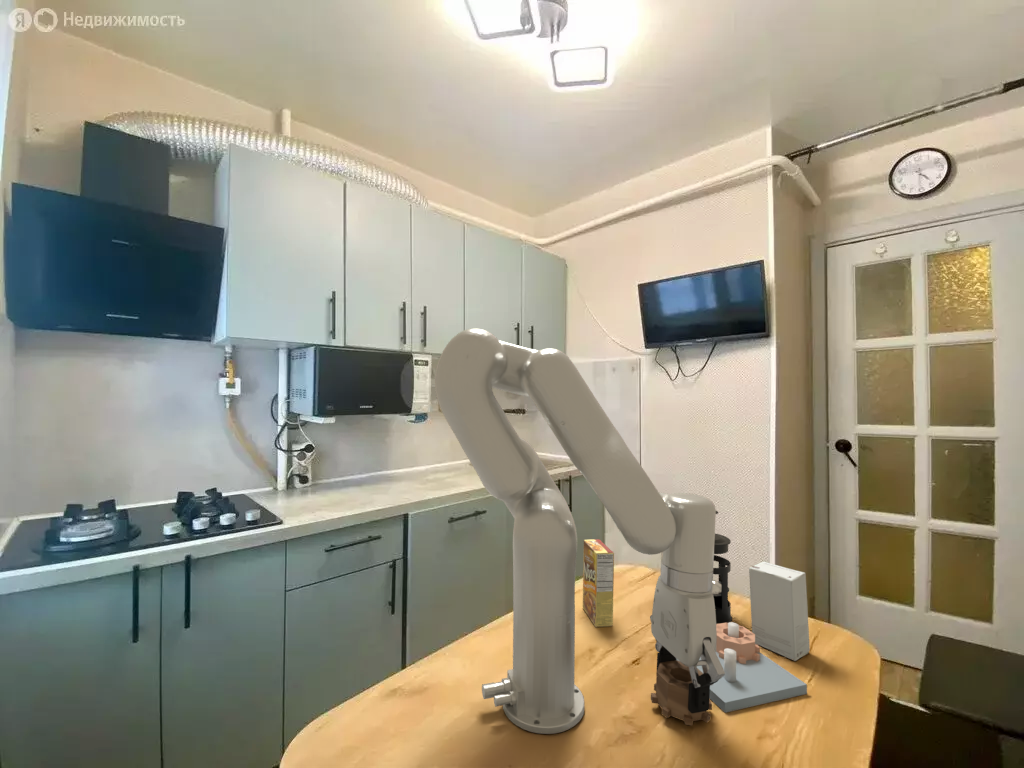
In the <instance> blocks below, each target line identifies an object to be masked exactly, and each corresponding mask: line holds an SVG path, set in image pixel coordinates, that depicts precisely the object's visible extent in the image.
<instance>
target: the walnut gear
mask: <svg viewBox="0 0 1024 768" xmlns="http://www.w3.org/2000/svg"><path fill="white" fill-rule="evenodd" d="M697 670H698V674H699V676H700V675H702V674H703V673H702V672H701V671H700V670H699V669H698V668H697ZM656 672H657V676H655V677H656V679H655V681H656V682H655V683H654V684H653V691H655V693H654V692H651V693H650V702H651V704H657V705H658V707H660V709H661V715H662V716H664V717H665V718H667V719H668V718H670V717H673V718H675V719H679V720H681V721H683V722H684V725H686V726H693V723H694V722H695V721H699V720H700V721H701V720H702V721H704V722H705V723H708V722H710V721H711V713H710V712H708V711H712V710H713V703H712V700H711V699H709V709H708V710H707V711H703V712H697V713H691V712H690V711H689V710H688V695H689V683H692V679H691V674H690V670H689V667H687V666H685V665H684V664H682V663H681V662H680V661H677V660H675V661H668V662H661V663H660V665H659V667H658V670H657V669H656Z"/></svg>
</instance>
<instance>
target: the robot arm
mask: <svg viewBox="0 0 1024 768" xmlns="http://www.w3.org/2000/svg"><path fill="white" fill-rule="evenodd" d="M434 388H435V396H436V399H437V400H436V401H437V402H438V406H439V408H440V411H441V413H442V414H443V415H442V416H443V417H444V419H445V420H446V422H447V424H448V425H449V428H450V429H451V431H452V433H453V434H454V436H455V438H456V439H457V441H458V443H459V444H460V447H461V449H462V451H463V452H464V454H465V456H466V457H467V459H468V460H469V462H470V464H471V466H472V467H473V469H474V471H475V472H476V474H477V476H478V478H479V479H480V482H481V484H482V486H483V487H484V488H485V490H486V491H487V492H488V493H489V495H491V496H492V497H493V498H496V499H497V500H499V501H502V502H503V503H504V505H505V506H506V508H507V510H508V511H509V512H510V514H511V516H512V517H513V519H514V522H513V532H512V563H513V565H512V569H513V570H512V571H513V578H512V579H513V580H512V581H513V583H512V587H513V588H512V591H513V592H512V600H513V601H512V605H513V608H512V609H513V610H512V612H513V615H512V617H513V619H512V621H513V622H512V623H513V624H512V634H513V635H512V668H511V669H507V672H506V673H507V676H506V677H505V678H501V681H497V682H487V683H484V684H482V685H481V693H482V699H483V700H488V699H492V698H493V703H494V704H493V705H494V707H495V708H496V707H501V706H502V709H503V711H504V714H505V715H506V717H507V718H508V720H509V721H510V722H511V723H513V724H514V725H515V726H517V727H519V728H520V729H522V730H525V731H528V732H531V733H534V734H541V735H542V734H543V735H545V734H546V735H553V734H558V733H563V732H566V731H568V730H570V729H572V728H573V727H575V726H576V725H577V724H578V723H579V722H580V721H581V719H582V718H583V716H584V713H585V703H586V702H585V697H584V695H583V693H582V691H581V690H580V688H579V687H578V686H577V685H576V684H575V670H576V669H575V667H576V665H575V658H576V655H575V651H576V650H575V647H576V644H575V643H576V642H575V641H576V638H575V637H576V634H575V633H576V632H575V631H576V628H575V627H576V626H575V625H576V622H575V621H576V612H575V611H576V604H575V602H576V601H575V600H576V599H575V597H576V590H575V589H576V567H577V556H578V555H577V552H578V534H577V526H576V524H575V523H576V522H575V520H574V517H573V514H572V512H571V510H570V508H569V505H568V502H567V500H566V499H565V497H564V495H563V493H562V492H561V491H560V488H559V487H558V486H557V484H556V482H555V481H554V479H553V478H552V476H551V475H550V473H549V471H548V469H547V468H546V465H544V462H543V461H542V460H541V457H540V456H539V455H538V453H537V451H536V450H535V448H533V447H534V446H532V445H531V444H530V443H529V442H528V441H527V440H526V439H524V438H522V437H521V436H519V434H518V433H517V430H516V429H515V428H514V426H513V425H512V423H511V422H510V420H509V419H508V417H507V414H506V412H505V411H504V409H503V408H502V407H501V405H500V403H499V402H498V400H497V398H496V395H495V394H494V391H493V389H497V390H499V391H503V392H507V393H511V394H515V395H519V396H522V397H527V398H530V399H531V400H532V402H533V403H534V405H535V406H536V409H538V411H539V413H540V415H541V416H542V417H543V419H544V420H545V422H546V423H547V425H548V427H549V429H550V430H551V431H552V433H553V434H554V436H555V438H556V440H557V441H558V442H559V444H560V446H561V447H562V449H563V450H564V452H565V453H566V456H567V457H568V458H569V459H570V461H571V463H572V464H573V466H574V467H575V468H576V469H577V470H578V471H579V472H580V474H581V475H582V476H583V477H584V479H585V480H586V482H587V483H588V484H589V485H590V487H591V488H592V490H593V491H594V492H595V494H596V496H597V497H598V499H599V500H600V502H601V503H602V505H603V507H604V508H605V510H606V512H607V513H608V514H609V516H610V517H611V519H612V521H613V523H614V525H615V527H616V528H617V529H618V531H619V532H620V534H621V535H622V537H623V538H624V540H625V542H627V545H629V547H631V548H632V549H633V550H635V551H637V552H638V553H641V554H644V555H651V556H652V555H658V554H661V555H660V556H661V557H660V559H661V561H660V575H658V578H657V582H656V584H655V589H654V596H653V602H652V613H651V615H650V616H649V620H650V623H651V626H650V627H651V631H650V632H651V635H652V636H653V638H654V639H655V641H656V642H655V645H654V646H655V647H654V648H655V650H656V652H657V653H656V676H657V670H658V667H659V665H660V663H661V662H668V661H675V660H676V658H677V659H678V660H679V661H680V662H681V663H682V664H684V665H685V666H687V667H689V670H690V674H691V679H692V683H689V695H688V710H689V711H690V712H691V713H697V712H703V711H707V712H708V711H709V710H708V709H709V700H710V698H709V697H710V686H711V685H713V684H714V683H716V682H718V680H719V679H721V678H722V677H723V676H724V675H725V672H724V669H723V667H722V665H721V663H720V661H719V659H718V657H717V655H716V641H717V632H716V613H715V603H714V597H713V594H712V590H713V580H714V574H713V568H714V562H715V561H714V555H715V554H714V541H715V534H716V517H717V514H716V511H717V508H716V506H715V504H714V502H713V501H712V500H711V499H710V498H708V497H706V496H703V495H698V494H695V493H684V492H676V493H664V492H661V491H658V489H657V488H656V486H655V484H654V483H653V481H652V480H651V478H650V477H649V475H648V474H647V472H646V471H645V469H644V468H643V467H642V465H641V464H640V462H639V461H638V460H637V458H636V457H635V456H634V454H633V452H632V451H631V450H630V448H629V447H628V445H627V443H626V442H625V440H624V438H623V437H622V436H621V434H620V433H619V431H618V430H617V429H616V426H614V423H613V422H612V420H611V419H610V418H609V416H608V415H607V413H606V412H605V410H604V408H603V407H602V405H600V402H599V401H598V399H597V398H596V396H595V395H594V393H593V392H592V389H591V388H589V385H588V384H587V382H586V381H585V379H584V377H583V376H582V375H581V373H580V372H579V370H578V368H577V367H576V365H575V364H574V362H573V361H572V359H570V357H569V356H568V355H567V354H566V353H565V352H564V351H561V350H560V349H557V348H553V347H551V348H550V347H545V348H543V349H539V350H538V349H535V348H528V347H524V346H520V345H518V344H517V345H516V344H515V343H514V344H513V343H510V342H506V341H503V340H499V339H498V338H497V337H496V335H494V334H492V332H490V331H488V330H485V329H482V328H467V329H464V330H462V331H460V332H458V333H457V334H456V335H454V336H453V337H452V338H451V339H450V341H448V343H447V344H446V345H445V347H444V349H443V351H442V352H441V355H440V357H439V359H438V361H437V365H436V370H435V377H434ZM700 657H701V660H699V659H700ZM697 666H702V669H703V673H704V674H702V675H700V676H699V674H698V670H697ZM656 676H655V677H656Z"/></svg>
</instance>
